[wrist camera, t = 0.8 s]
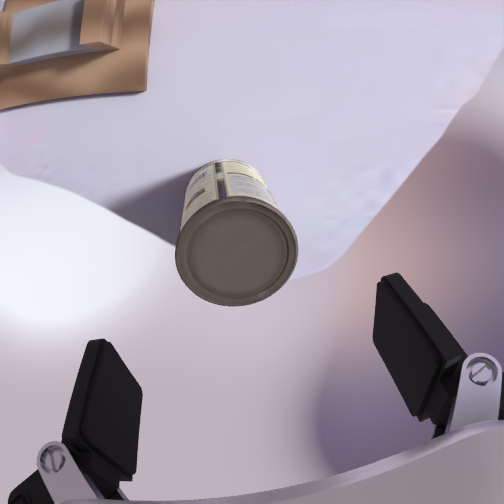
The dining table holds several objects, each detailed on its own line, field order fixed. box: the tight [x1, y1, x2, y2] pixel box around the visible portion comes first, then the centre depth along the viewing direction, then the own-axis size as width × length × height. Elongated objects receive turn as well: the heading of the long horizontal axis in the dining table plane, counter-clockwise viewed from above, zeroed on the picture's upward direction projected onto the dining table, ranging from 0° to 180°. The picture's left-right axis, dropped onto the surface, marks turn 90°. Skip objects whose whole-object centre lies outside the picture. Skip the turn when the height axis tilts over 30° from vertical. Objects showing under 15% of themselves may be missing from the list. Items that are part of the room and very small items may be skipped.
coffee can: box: [175, 159, 298, 306], centre depth 33 cm, size 10×10×14 cm
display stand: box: [0, 0, 155, 109], centre depth 22 cm, size 16×20×8 cm
